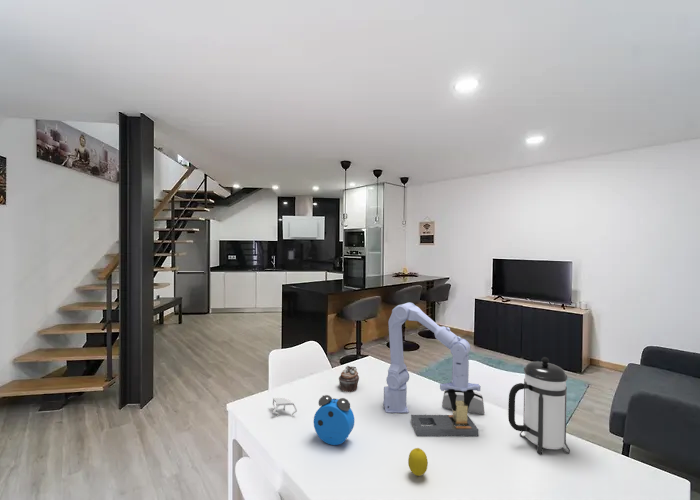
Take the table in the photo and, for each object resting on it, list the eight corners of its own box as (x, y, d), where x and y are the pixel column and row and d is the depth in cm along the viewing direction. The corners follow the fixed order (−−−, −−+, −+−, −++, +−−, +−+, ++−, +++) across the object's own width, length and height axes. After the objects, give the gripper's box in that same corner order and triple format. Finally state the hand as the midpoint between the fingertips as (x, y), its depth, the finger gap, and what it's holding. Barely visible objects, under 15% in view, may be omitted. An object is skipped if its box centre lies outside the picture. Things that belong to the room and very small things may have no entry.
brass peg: (456, 425, 117) (456, 405, 117) (452, 419, 121) (452, 400, 121) (467, 425, 117) (467, 405, 117) (463, 419, 121) (463, 400, 121)
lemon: (405, 469, 96) (406, 443, 96) (423, 469, 96) (424, 442, 97) (411, 483, 91) (411, 454, 91) (430, 482, 91) (430, 454, 91)
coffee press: (523, 426, 121) (525, 347, 121) (574, 445, 110) (576, 357, 110) (507, 445, 109) (508, 357, 109) (562, 468, 98) (563, 370, 98)
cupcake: (340, 383, 157) (340, 363, 157) (359, 385, 156) (360, 364, 156) (336, 392, 148) (337, 370, 148) (357, 393, 147) (358, 371, 147)
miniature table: (264, 417, 124) (265, 405, 124) (273, 407, 133) (273, 395, 133) (294, 421, 122) (294, 408, 122) (301, 410, 131) (301, 398, 131)
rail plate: (417, 436, 114) (417, 428, 114) (410, 421, 124) (411, 414, 124) (478, 436, 114) (478, 428, 114) (467, 421, 124) (467, 414, 124)
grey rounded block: (483, 408, 135) (484, 389, 131) (484, 417, 130) (485, 398, 127) (442, 402, 140) (442, 383, 137) (441, 410, 136) (441, 391, 133)
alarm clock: (354, 440, 111) (355, 396, 111) (348, 450, 105) (349, 404, 105) (320, 432, 115) (320, 390, 115) (312, 441, 109) (313, 397, 109)
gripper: (444, 377, 115) (443, 415, 115) (484, 377, 115) (483, 415, 115) (438, 369, 122) (437, 405, 122) (476, 370, 122) (475, 405, 122)
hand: (459, 409), depth 119 cm, fingers closed on brass peg, 4 cm apart
